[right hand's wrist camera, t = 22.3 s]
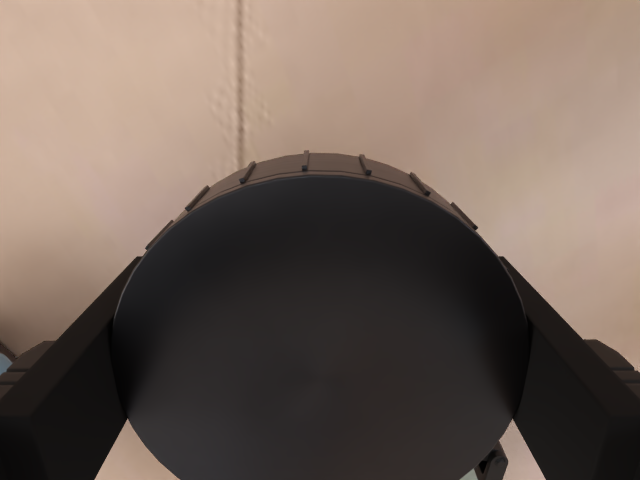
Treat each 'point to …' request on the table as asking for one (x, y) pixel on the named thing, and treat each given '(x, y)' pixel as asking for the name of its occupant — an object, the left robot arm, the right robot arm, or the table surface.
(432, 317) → the lid
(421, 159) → the table surface
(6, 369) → the left robot arm
